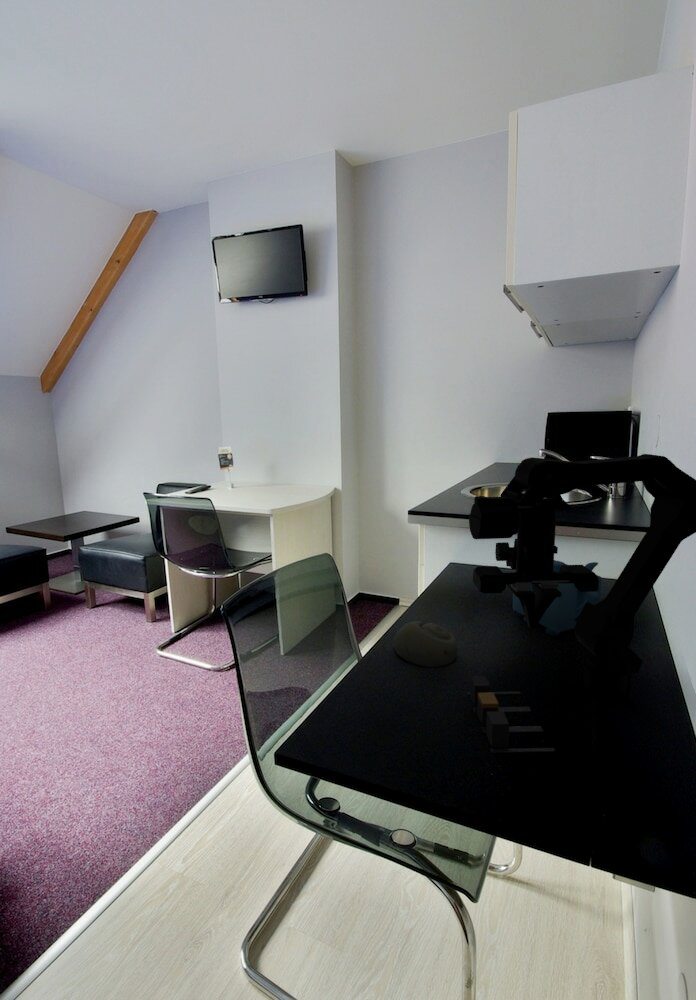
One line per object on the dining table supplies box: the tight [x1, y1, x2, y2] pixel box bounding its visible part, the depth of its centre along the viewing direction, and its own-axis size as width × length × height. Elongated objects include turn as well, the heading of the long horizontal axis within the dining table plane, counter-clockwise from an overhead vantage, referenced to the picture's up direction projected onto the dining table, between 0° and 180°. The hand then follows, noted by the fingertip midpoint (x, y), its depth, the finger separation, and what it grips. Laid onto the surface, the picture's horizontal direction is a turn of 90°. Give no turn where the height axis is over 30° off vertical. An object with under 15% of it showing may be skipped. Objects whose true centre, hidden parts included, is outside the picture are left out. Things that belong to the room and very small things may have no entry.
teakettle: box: [512, 559, 602, 636], centre depth 114 cm, size 19×19×15 cm
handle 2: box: [485, 711, 510, 749], centre depth 72 cm, size 2×3×4 cm
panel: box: [466, 691, 556, 754], centre depth 78 cm, size 18×16×1 cm
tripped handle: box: [476, 691, 500, 727], centre depth 77 cm, size 2×3×4 cm
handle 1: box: [469, 675, 491, 708], centre depth 82 cm, size 2×3×4 cm
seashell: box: [393, 621, 458, 668], centre depth 98 cm, size 13×8×10 cm
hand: (531, 627), depth 83 cm, fingers closed
